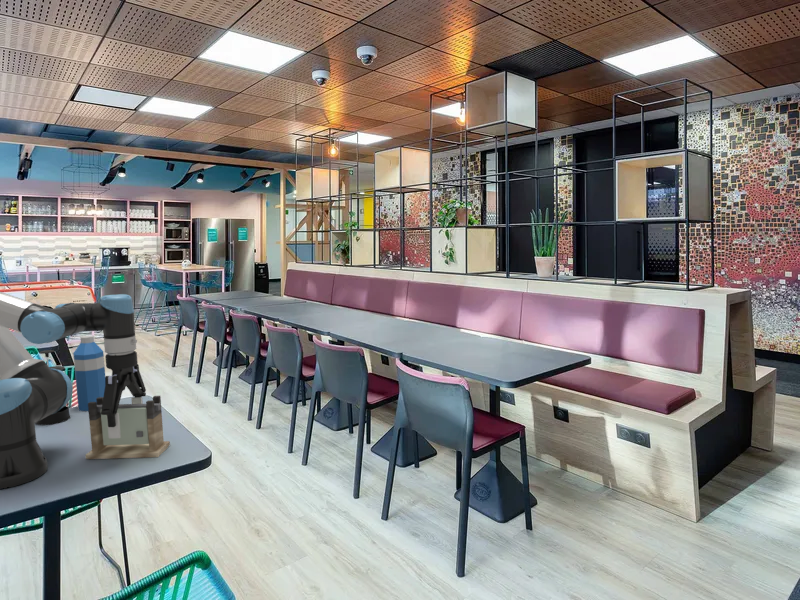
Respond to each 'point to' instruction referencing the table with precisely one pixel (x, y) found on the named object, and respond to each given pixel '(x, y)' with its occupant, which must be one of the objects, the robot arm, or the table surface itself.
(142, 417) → the hanging file folder
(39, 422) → the french press
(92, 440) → the hinge frame
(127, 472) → the table surface
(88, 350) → the water bottle
